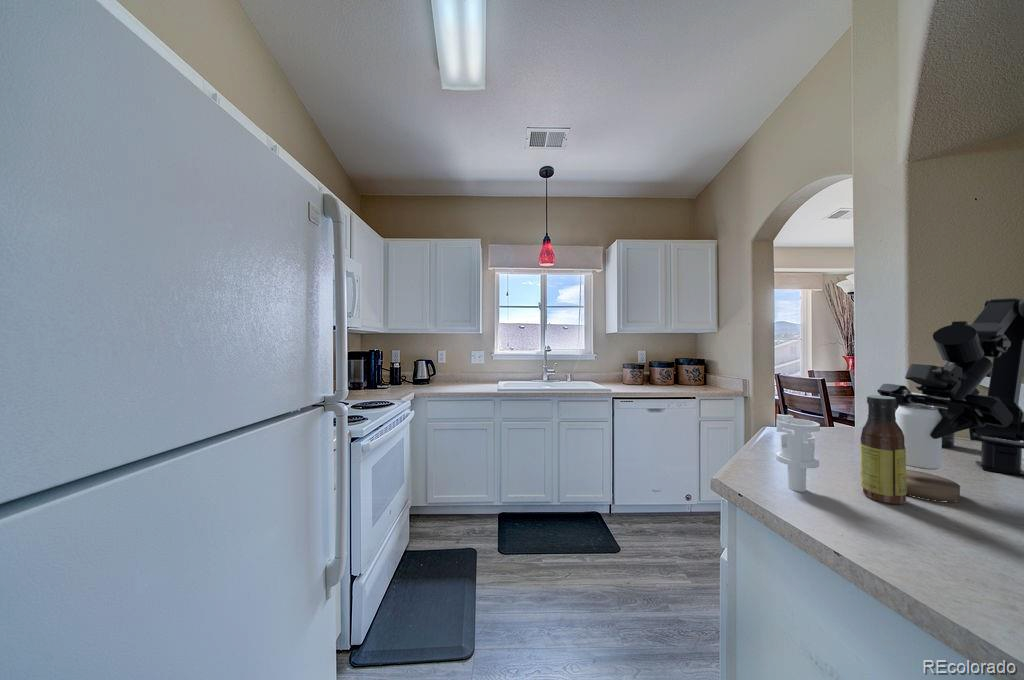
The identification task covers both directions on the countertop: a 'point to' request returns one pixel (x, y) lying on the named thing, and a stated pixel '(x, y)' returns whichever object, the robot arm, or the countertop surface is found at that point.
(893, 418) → the sauce bottle
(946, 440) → the supplement bottle
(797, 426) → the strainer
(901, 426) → the can
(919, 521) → the countertop surface
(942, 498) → the walnut stand
